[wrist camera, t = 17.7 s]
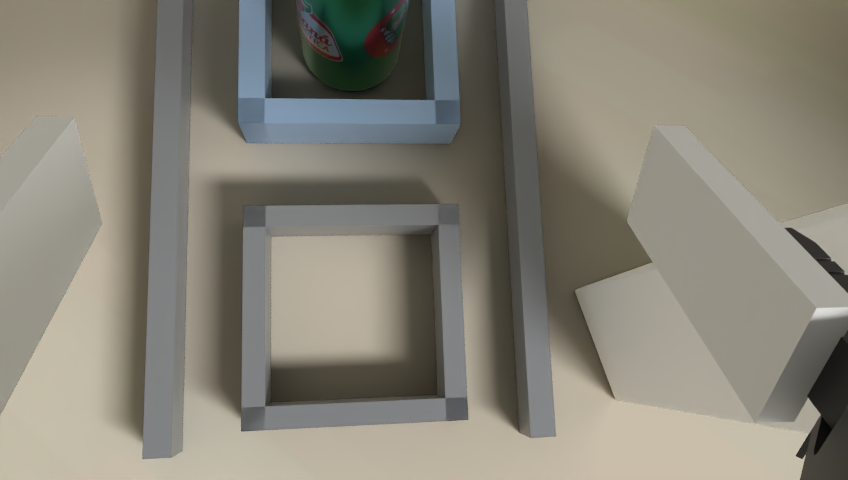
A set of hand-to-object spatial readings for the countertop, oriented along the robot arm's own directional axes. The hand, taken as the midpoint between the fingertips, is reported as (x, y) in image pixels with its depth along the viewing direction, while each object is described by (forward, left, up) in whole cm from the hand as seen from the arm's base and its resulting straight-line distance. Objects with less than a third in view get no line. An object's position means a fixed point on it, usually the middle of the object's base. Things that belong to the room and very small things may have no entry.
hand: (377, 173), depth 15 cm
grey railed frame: (0, -5, -18) cm, 18 cm away
